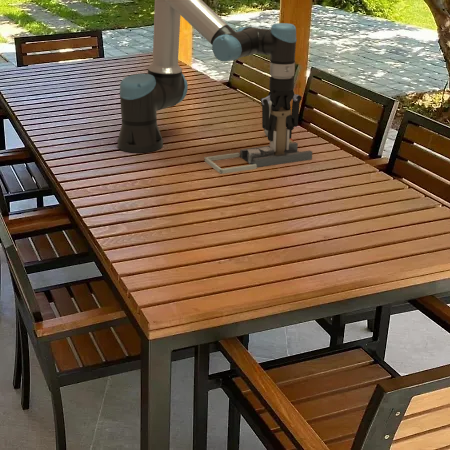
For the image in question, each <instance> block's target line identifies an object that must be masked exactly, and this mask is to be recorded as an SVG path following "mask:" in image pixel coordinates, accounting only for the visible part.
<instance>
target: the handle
mask: <svg viewBox="0 0 450 450" xmlns="http://www.w3.org/2000/svg"><path fill="white" fill-rule="evenodd" d="M270 113H271V115H274V116H276V117H277V120H276V124H275V129H274V131H276V152H274V155H281V154H284V153H285V152H284V151H285V146H286V117H287V116H289V115H290V114H291V113H292V108H290V110H285V109H283V107H280V110H279V111H276V112H274V111H273V110H271V111H270Z"/></svg>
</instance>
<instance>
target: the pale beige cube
mask: <svg viewBox="0 0 450 450" xmlns="http://www.w3.org/2000/svg"><path fill="white" fill-rule="evenodd" d="M262 147H263V146H262ZM259 151H260V152H261V154H260V157H267V156H274V149H272V148H269V147H263V148H259Z"/></svg>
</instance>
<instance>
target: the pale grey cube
mask: <svg viewBox="0 0 450 450" xmlns="http://www.w3.org/2000/svg"><path fill="white" fill-rule="evenodd" d="M260 154H261V152H260V151H259V149H249V150H247V161H248V162H249V163H248V162H247V163H248V165H251V164H253V158H259V157H260Z"/></svg>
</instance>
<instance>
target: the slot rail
mask: <svg viewBox="0 0 450 450" xmlns="http://www.w3.org/2000/svg"><path fill="white" fill-rule="evenodd" d="M298 145H299V143H298V142H294V141H293V143H289V150H286V149H285V151H284V152H285V153H284V154H281V155H274V156H267V157H259V158H253V164H256V165H257V168H263V167H271V166H276V165H285V164H290V163H296V162H304V161H311V160H312V159H313V151H312V150H303V151H302V150H301V151H299V150H298V147H299V146H298ZM263 147H269V148H270V145H266V146H265V145H264V146H257V147H256V146H255V147H250V148H241V149H240V150H239V151H240V152H239V153H240V157H239V158H241V159H242V160H243V161H245V162H246V163H248V164H249V162H248V161H247V150H249V149H259V148H263ZM253 164H250V165H253Z"/></svg>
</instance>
